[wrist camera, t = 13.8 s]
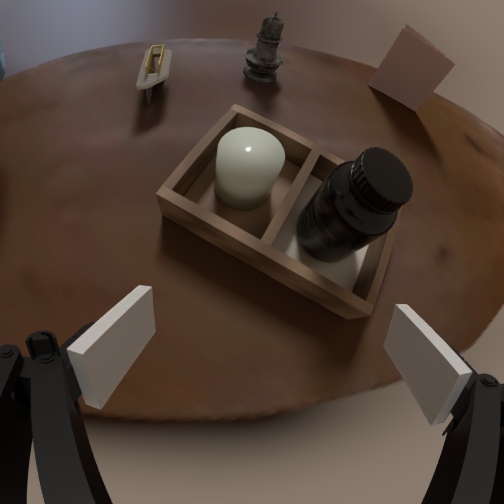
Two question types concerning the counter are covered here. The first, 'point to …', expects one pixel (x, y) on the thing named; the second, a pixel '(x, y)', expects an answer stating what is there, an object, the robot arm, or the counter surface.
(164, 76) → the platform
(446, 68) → the greeting card
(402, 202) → the supplement bottle
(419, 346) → the robot arm
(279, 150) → the pale green dome
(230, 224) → the caddy
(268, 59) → the salt shaker
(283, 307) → the counter surface
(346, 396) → the counter surface
